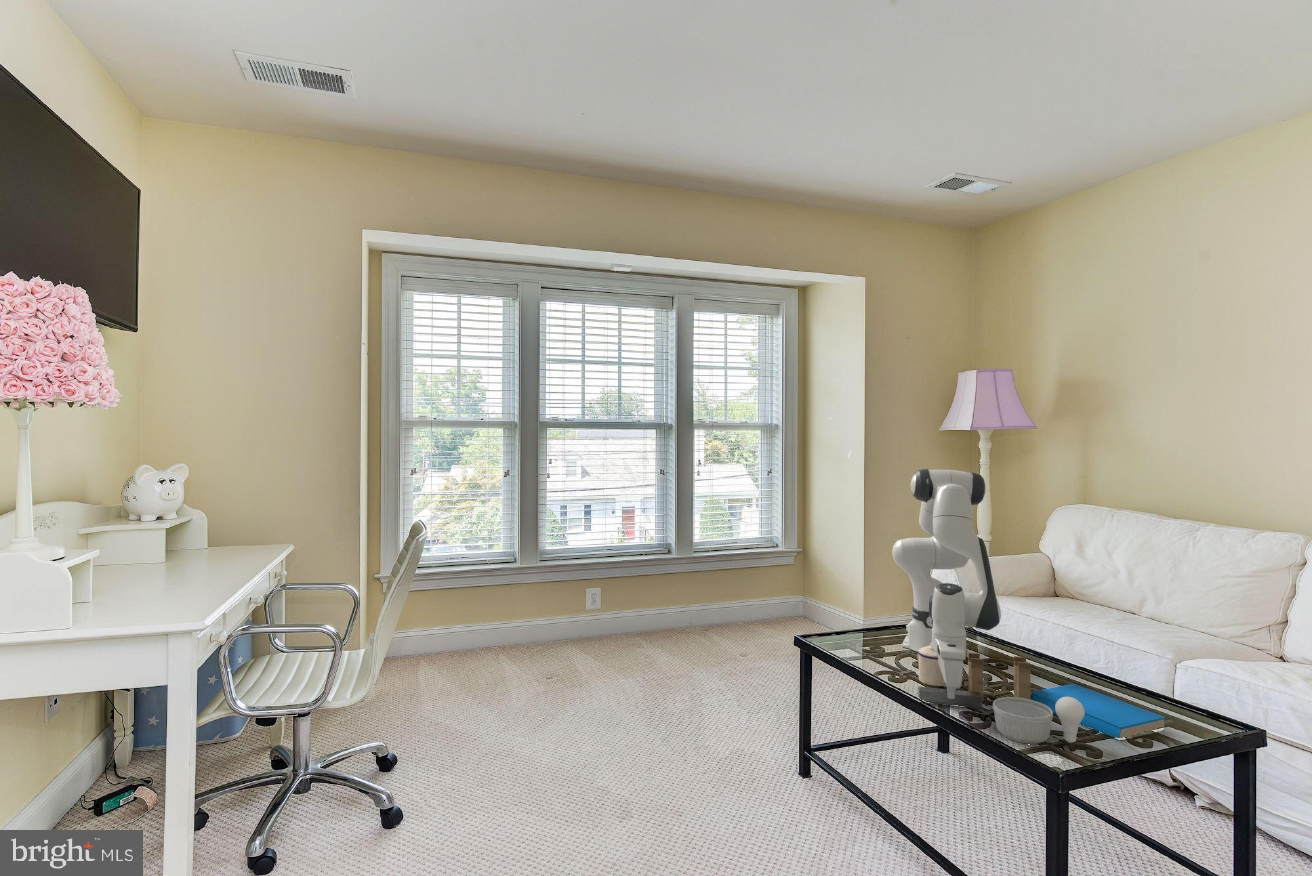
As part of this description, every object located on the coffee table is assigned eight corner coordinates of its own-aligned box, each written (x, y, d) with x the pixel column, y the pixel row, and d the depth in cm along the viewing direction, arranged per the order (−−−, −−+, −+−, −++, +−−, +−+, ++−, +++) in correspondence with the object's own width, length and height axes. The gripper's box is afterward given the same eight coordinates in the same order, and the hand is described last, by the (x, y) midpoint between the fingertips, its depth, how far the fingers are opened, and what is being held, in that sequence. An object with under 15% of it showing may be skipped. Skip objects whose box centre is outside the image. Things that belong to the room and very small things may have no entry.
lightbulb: (1050, 740, 164) (1050, 696, 164) (1063, 735, 168) (1063, 690, 168) (1076, 750, 159) (1076, 704, 159) (1089, 744, 162) (1089, 699, 162)
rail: (918, 699, 192) (918, 686, 192) (979, 705, 187) (979, 692, 187) (919, 703, 188) (919, 690, 188) (981, 710, 184) (981, 697, 184)
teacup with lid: (956, 685, 201) (956, 646, 201) (930, 688, 199) (930, 649, 199) (931, 671, 213) (931, 635, 213) (906, 674, 211) (905, 637, 211)
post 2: (1013, 695, 193) (1013, 656, 193) (1025, 696, 192) (1025, 657, 192) (1018, 703, 187) (1018, 662, 187) (1030, 704, 186) (1030, 663, 186)
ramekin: (1012, 747, 161) (1012, 718, 161) (982, 724, 174) (981, 697, 174) (1065, 745, 162) (1065, 716, 162) (1030, 722, 175) (1030, 695, 175)
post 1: (968, 691, 197) (968, 652, 197) (979, 692, 196) (979, 653, 196) (971, 699, 191) (971, 658, 191) (983, 700, 190) (983, 659, 190)
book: (1072, 683, 193) (1165, 715, 170) (1072, 698, 193) (1166, 732, 170) (1029, 691, 187) (1120, 726, 164) (1029, 707, 187) (1120, 744, 164)
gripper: (932, 632, 199) (932, 678, 199) (940, 653, 179) (941, 705, 179) (955, 633, 197) (956, 680, 197) (966, 655, 177) (966, 708, 177)
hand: (949, 692), depth 188 cm, fingers open, 6 cm apart
